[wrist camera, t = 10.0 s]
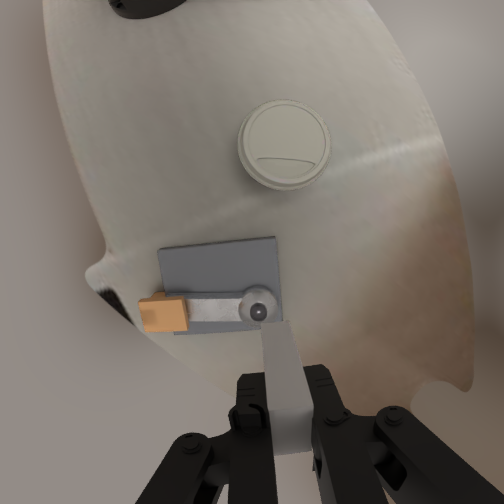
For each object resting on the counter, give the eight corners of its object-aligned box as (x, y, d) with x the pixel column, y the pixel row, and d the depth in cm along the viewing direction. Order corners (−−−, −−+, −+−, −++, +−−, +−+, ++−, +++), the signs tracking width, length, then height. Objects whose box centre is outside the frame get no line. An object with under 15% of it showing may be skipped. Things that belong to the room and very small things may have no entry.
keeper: (153, 285, 37) (137, 302, 31) (191, 282, 37) (181, 299, 31) (159, 312, 38) (145, 332, 32) (196, 309, 38) (187, 330, 32)
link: (276, 284, 36) (279, 294, 32) (276, 319, 37) (278, 331, 33) (168, 286, 36) (160, 295, 32) (172, 319, 37) (165, 331, 33)
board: (160, 248, 36) (157, 250, 35) (274, 236, 36) (275, 238, 35) (176, 330, 39) (174, 335, 37) (281, 321, 39) (282, 326, 37)
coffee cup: (226, 164, 34) (215, 152, 22) (266, 111, 33) (274, 76, 21) (282, 204, 35) (299, 210, 24) (321, 151, 34) (354, 134, 22)
